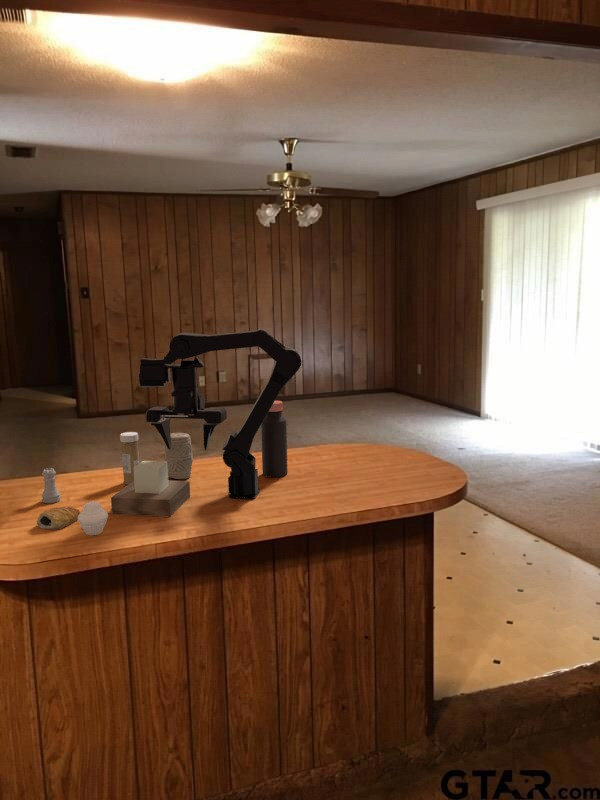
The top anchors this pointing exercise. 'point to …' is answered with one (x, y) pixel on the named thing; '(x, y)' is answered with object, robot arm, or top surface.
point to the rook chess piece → (50, 487)
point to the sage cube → (151, 477)
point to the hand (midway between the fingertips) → (187, 449)
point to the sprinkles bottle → (129, 455)
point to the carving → (179, 456)
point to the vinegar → (274, 442)
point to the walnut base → (151, 500)
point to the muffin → (92, 518)
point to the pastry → (57, 518)
